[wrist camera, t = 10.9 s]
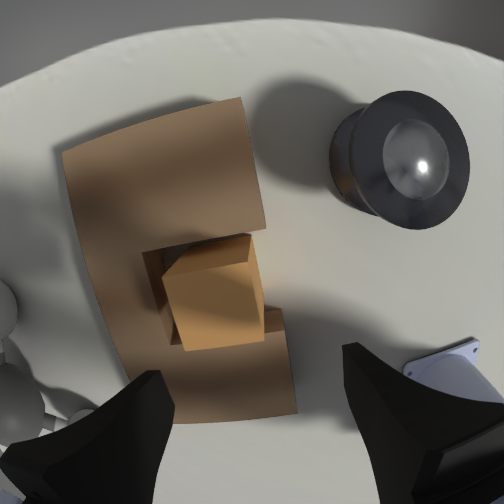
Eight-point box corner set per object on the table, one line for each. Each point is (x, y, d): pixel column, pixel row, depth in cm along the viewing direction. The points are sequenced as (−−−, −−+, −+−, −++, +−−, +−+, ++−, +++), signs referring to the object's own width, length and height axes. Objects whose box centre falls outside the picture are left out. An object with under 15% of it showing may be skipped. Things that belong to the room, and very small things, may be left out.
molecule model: (120, 402, 32) (151, 502, 15) (43, 459, 25) (32, 564, 8) (22, 270, 28) (-52, 259, 10) (-54, 338, 21) (-139, 377, 4)
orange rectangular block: (263, 293, 20) (264, 340, 14) (204, 303, 20) (185, 351, 15) (251, 234, 19) (247, 261, 13) (189, 246, 19) (161, 277, 14)
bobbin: (431, 207, 18) (474, 219, 13) (338, 223, 19) (364, 240, 14) (416, 106, 17) (457, 92, 12) (319, 112, 17) (339, 93, 12)
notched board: (294, 387, 22) (297, 413, 19) (161, 399, 23) (151, 423, 20) (243, 108, 17) (240, 96, 14) (85, 153, 18) (61, 152, 15)
